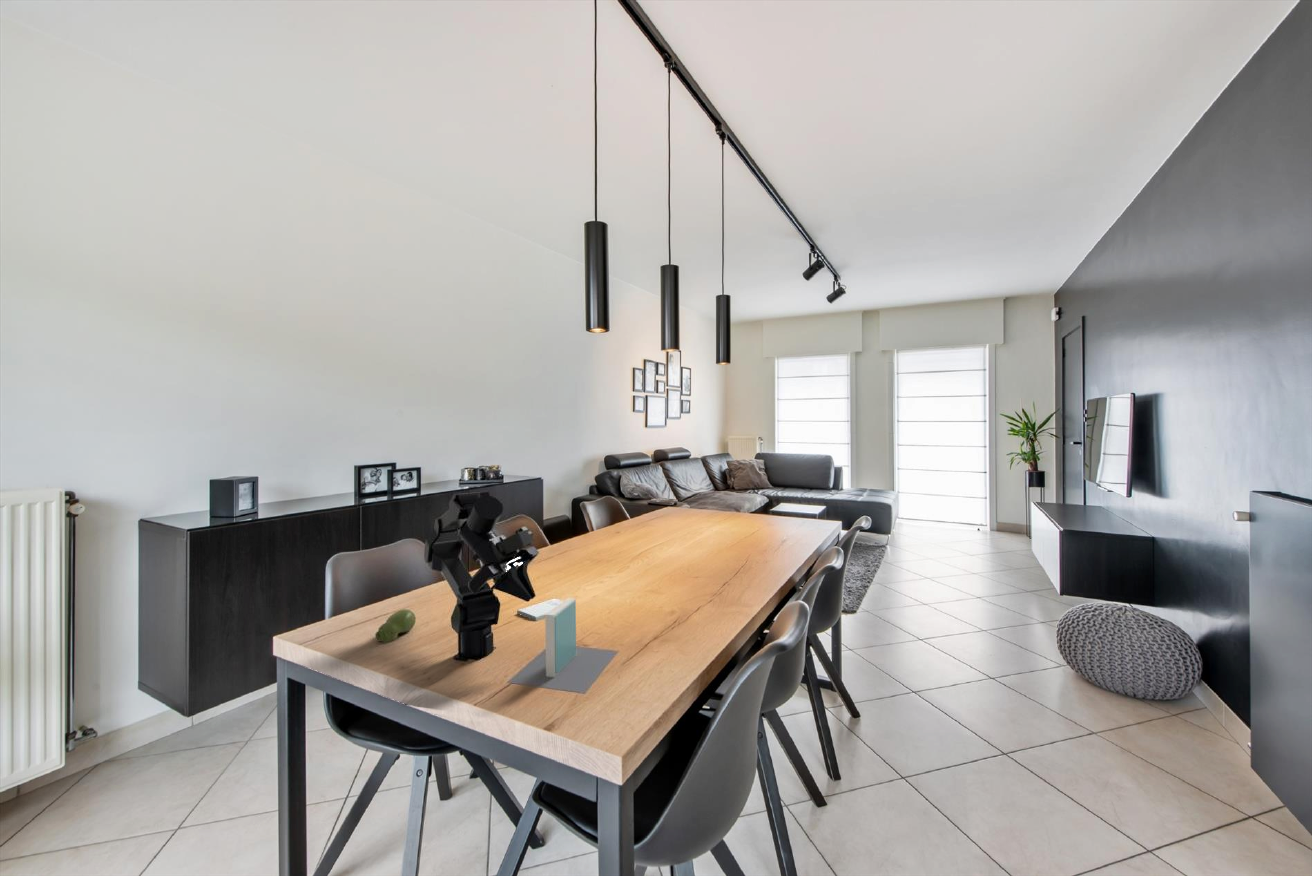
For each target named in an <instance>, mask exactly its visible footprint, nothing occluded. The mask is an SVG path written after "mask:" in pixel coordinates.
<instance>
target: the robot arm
mask: <svg viewBox="0 0 1312 876" xmlns="http://www.w3.org/2000/svg"><path fill="white" fill-rule="evenodd" d="M503 510H504V505H503V503H502V502H501V501H500V500H499V499H498V498H497V497H495V496H492V495H491V494H490V492H489V491H477V492H464V493H463V492H462V493H461V492H460V493H455V494H453V495H452V497H451V498H450V499H449V502H448V510H447V511H445V512H444V513H443V514H442V515H441V516H440V517H438V518H435V521H434V526H433V529H431V531H430V533H429V534H428V535H427V536H426V538H425V543H424V550H423V552H424V553H423V554H424V555H423V556H424V561H425V564H428V566H429V568H430V569H431V570H432V571H437V572H440V573H442V575H443V577H444V578H445V580H446V582H447V584H448V585H449V588H451V591H452V593H453V594H454V595H455V598H456V605H455V606H454V609H453V611H452V614H451V616H450V623H451V629H453V630H454V632H456V634H457V653H456V654H454V655H453V660H459V661H467V662H468V661H472V660H473V661H481V660H482V659H483V658H485V657H487V656H489V655H490V654H492V652H494V650H496V649H497V647H496V646H494V633H493V631H492V626H493V625H494V626H496V625H498V622H499V620H500V619H499V618H500V610H501V602H500V600H499V598H498V596H497V595H496V594H495V593H494V590H496V591H499V592H502V593H505V594H507V595H511V596H513V597H516V598H517V599H520V600H522V601H525V602H530V601H531V600H533V599H534V598H536V592H535V590H534V586H533V585H532V583H531V582H532V581H531V580H530V577H529V573H528V566H529V565H530V563H531V562H532V561H533V560H535V558H537V556H538V555H539V554H540V551H538V549H537V548H536V547H535V546H534V545H533V546H531V545H532V544H534V543H533V540H532V539H533V537H534V533H533V532H532V531H531V530H530V529H529V528H527V526H522V527H520V528H518V529H516V530H515V533H514V534H513V535H512V534H511V535H510V536H507V537H506V536H505V534H504V535H503V534H502V535H497V533H496V532H495V531H494V528H495V527H496V525H497V523H498V521H499V520H500V518H501V516H502V514H503ZM447 533H455V534H456V537H457V539H455V540H454V539H453V540H447V541H446V540H445V541H440V542H439V541H437V540H438V539H439V538H440V537H441V534H447ZM465 544H466V545H467V547H468V548H469V549H470V550H471V551H472V553H473V554H474V555H473V556H472V560H473V561H474V562H475V563H476V562H477V561H480V562H481V563H482V564H483V565H482V566H481V567H480V568H479V569H478V570H477V571H476V572H475V573H474V574H473V575H471V573H470V572H469V570H468V569H467V568H466V565H465V564H464V563H463V561H462V557H463V552H464V551H463V550H464V546H465ZM491 580H492V582H493V585H492V586H490V584H489V583H488V582H489V581H491Z"/></svg>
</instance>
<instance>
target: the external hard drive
mask: <svg viewBox="0 0 1312 876" xmlns="http://www.w3.org/2000/svg"><path fill="white" fill-rule="evenodd" d="M563 601H564V600H562V599H558V598H552V599H548V600H545V601H542V602H539V603H536V604H533V605H530V606H527V607H524V608H523V607H522V608H520V609H518V610H516V615H518V614H521V615H522V616H521V617H523V616H526V617H528V618H529V619H528V618H527V619H528V620H531V619H533V620H532V621H534V622H537V621H538V620H539V621H541V620H544V619H545V614H547V613H548V612H549V611H551V610H552V609H553V608H555V607H556V606H557V605H559V604H560V603H562V602H563ZM526 617H525V618H526ZM540 619H541V620H540ZM539 621H538V622H539Z"/></svg>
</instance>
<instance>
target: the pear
mask: <svg viewBox="0 0 1312 876" xmlns="http://www.w3.org/2000/svg"><path fill="white" fill-rule="evenodd" d="M416 619H417V618H416V614H415V613H414V612H413V611H412V610H410V609H404V608H403V609H401V610H398V611H395V612H394V613H393V614H391V615H390V616H389V617H388V618H387V619H386V621H385V622H384V623H382V624H381V625H380V626H379V628H378V630H377V631H376V633H375V639H376V641H378V642H380V641H383V642H382V643H392V642H393V641H395V640H396V639H397V638H398V634H403V633H407V632H409V631H410V630H412V629H413V628H414V626H415V624H416ZM391 641H392V642H391Z"/></svg>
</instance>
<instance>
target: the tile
mask: <svg viewBox="0 0 1312 876" xmlns="http://www.w3.org/2000/svg"><path fill="white" fill-rule="evenodd" d="M576 600H577V598H574V597H567V598H566V599H565V600H562V601H563V602H562V603H560V604H559V605H557V606H556V607H555V608H553V609H552V610H551V611H549V612H548V613H547V614H545V618H544V619H545V620H544V621H545V622H544V623H545V627H544V628H545V649H546V676H548V677H555V676H556V675H557V674H558V673H559V672H560V671H561V670H562V669H563V668H564V667H565V666H566V665H567V664H568V663H569V662H570V661H571V660H572V659H573V658H574V657H575V656H576V646H577V613H576V611H577V609H576V607H577V606H576V603H577V602H576Z"/></svg>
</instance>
